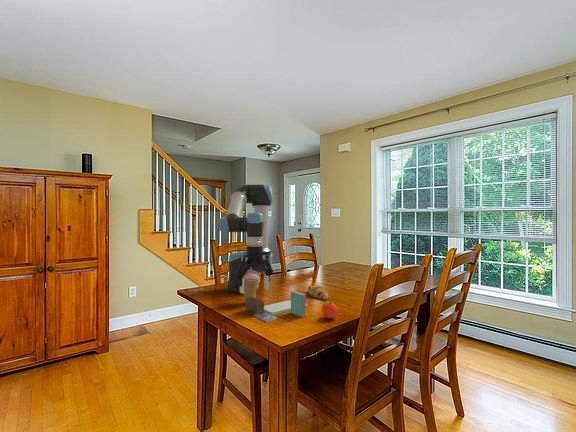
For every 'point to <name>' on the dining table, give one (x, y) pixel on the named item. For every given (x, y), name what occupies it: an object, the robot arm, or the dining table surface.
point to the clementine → (329, 310)
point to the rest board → (279, 307)
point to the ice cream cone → (251, 283)
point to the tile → (298, 303)
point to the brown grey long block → (258, 309)
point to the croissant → (318, 291)
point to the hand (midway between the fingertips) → (254, 291)
